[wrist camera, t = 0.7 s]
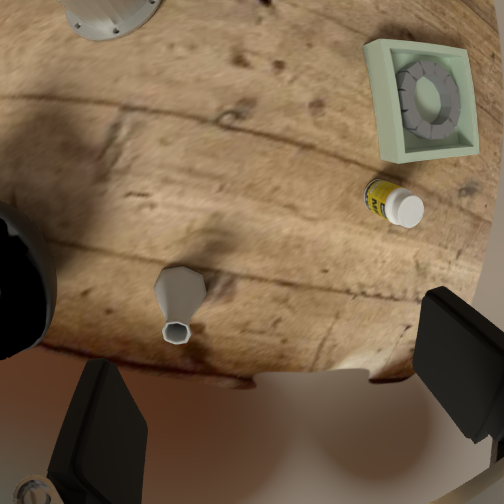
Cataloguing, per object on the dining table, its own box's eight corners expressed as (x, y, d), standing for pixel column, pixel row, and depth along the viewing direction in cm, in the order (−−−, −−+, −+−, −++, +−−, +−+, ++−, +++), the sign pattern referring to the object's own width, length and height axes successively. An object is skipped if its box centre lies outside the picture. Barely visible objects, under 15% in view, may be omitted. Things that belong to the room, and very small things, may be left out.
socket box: (362, 45, 34) (379, 38, 29) (447, 52, 35) (466, 49, 31) (380, 159, 40) (398, 163, 36) (460, 150, 41) (479, 154, 37)
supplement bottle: (356, 194, 41) (388, 210, 33) (379, 171, 40) (415, 183, 33) (374, 218, 43) (407, 238, 35) (396, 196, 42) (431, 212, 34)
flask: (210, 268, 42) (214, 308, 33) (203, 315, 44) (205, 361, 35) (155, 261, 41) (144, 300, 31) (152, 309, 43) (143, 354, 34)
